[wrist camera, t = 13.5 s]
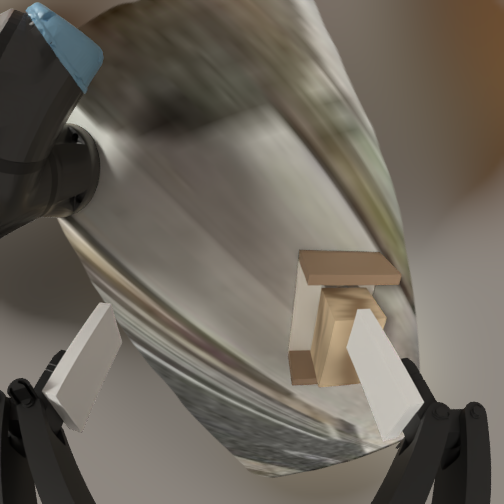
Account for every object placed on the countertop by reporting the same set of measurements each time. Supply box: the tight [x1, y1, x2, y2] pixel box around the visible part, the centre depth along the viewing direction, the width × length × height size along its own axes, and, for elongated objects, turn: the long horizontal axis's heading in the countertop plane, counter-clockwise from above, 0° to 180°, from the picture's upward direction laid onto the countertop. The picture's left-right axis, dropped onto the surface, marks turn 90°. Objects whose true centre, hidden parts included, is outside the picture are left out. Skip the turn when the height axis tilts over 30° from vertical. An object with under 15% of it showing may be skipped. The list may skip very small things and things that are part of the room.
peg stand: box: [288, 250, 401, 385], centre depth 41 cm, size 13×20×8 cm, turn 179°
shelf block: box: [310, 287, 387, 387], centre depth 37 cm, size 7×12×8 cm, turn 179°
